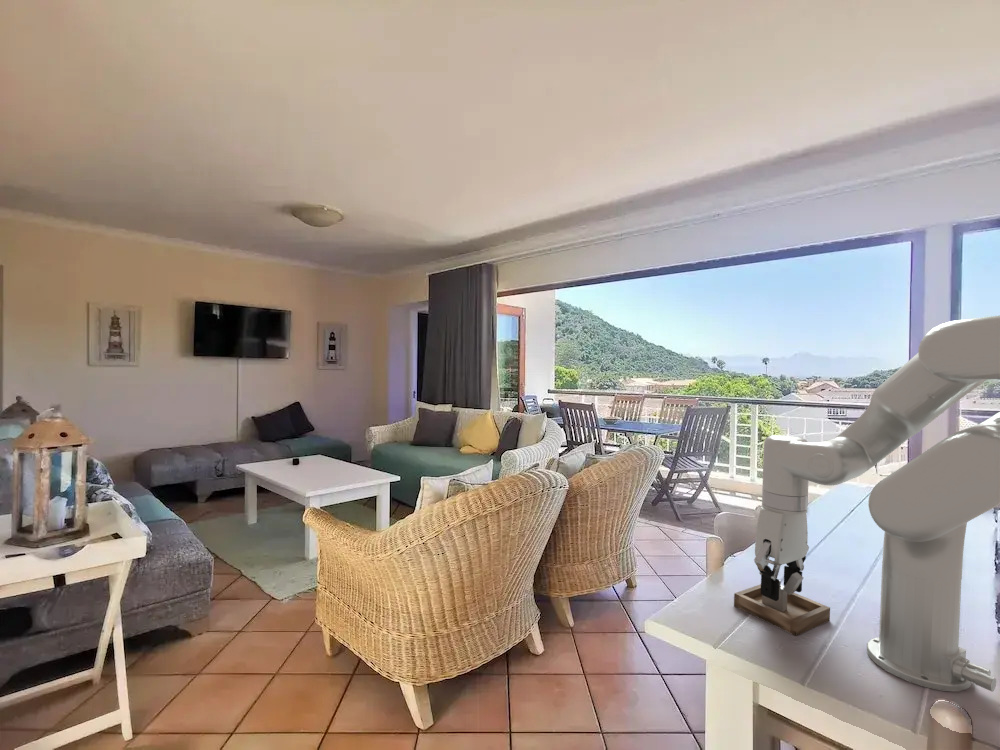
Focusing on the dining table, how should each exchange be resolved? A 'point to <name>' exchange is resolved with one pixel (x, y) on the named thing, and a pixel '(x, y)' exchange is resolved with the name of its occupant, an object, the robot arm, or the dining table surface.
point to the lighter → (784, 592)
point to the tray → (793, 620)
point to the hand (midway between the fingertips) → (781, 592)
